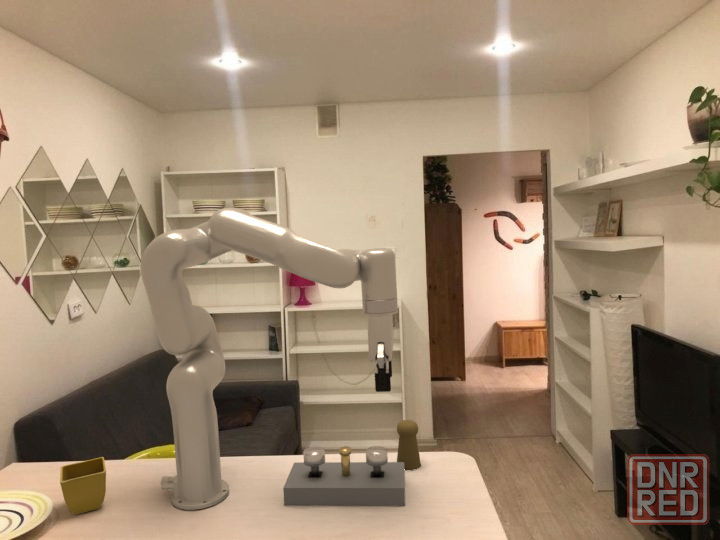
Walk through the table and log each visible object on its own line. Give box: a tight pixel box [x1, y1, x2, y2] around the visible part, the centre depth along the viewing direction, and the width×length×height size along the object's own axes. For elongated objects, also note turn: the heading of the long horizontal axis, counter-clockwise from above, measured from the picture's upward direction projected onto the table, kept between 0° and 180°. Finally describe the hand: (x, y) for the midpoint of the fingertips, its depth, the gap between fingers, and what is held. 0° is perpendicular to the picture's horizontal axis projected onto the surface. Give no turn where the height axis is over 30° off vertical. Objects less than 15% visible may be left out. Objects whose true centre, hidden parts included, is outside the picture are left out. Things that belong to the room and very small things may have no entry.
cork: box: [396, 419, 422, 471], centre depth 134 cm, size 6×6×11 cm
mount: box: [283, 461, 406, 507], centre depth 123 cm, size 26×12×4 cm, turn 86°
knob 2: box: [365, 445, 389, 478], centre depth 122 cm, size 5×5×6 cm
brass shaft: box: [338, 445, 352, 477], centre depth 122 cm, size 3×3×6 cm
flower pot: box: [59, 456, 107, 516], centre depth 120 cm, size 9×9×9 cm
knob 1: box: [303, 446, 326, 478], centre depth 123 cm, size 5×5×6 cm
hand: (384, 383), depth 119 cm, fingers open, 9 cm apart
